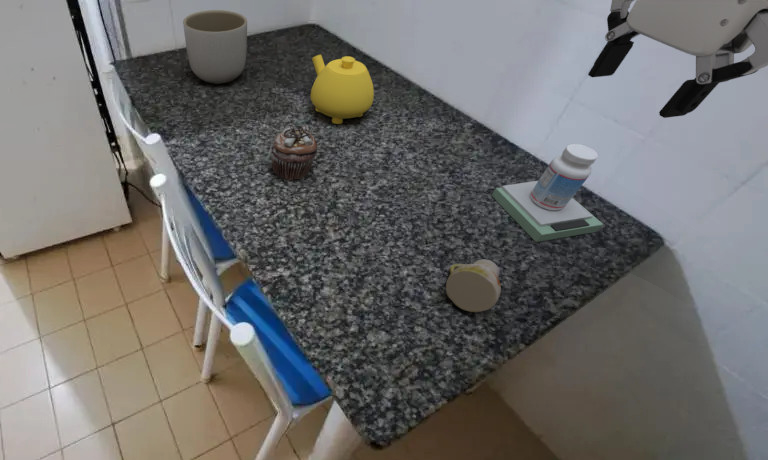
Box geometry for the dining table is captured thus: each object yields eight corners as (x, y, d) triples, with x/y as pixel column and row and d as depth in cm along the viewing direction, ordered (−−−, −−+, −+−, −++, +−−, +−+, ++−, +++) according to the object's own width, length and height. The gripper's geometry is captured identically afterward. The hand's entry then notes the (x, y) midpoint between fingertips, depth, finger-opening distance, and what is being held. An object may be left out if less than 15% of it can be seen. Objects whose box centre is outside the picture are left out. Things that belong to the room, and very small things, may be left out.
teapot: (287, 99, 106) (291, 47, 96) (332, 85, 111) (340, 35, 101) (334, 134, 94) (344, 78, 84) (382, 117, 100) (396, 63, 90)
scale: (596, 231, 72) (605, 222, 70) (535, 242, 70) (543, 232, 68) (546, 187, 81) (553, 177, 79) (491, 195, 79) (497, 185, 77)
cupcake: (303, 152, 88) (308, 112, 81) (320, 178, 82) (327, 137, 75) (263, 159, 87) (264, 118, 79) (277, 186, 80) (279, 145, 73)
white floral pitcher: (504, 282, 64) (534, 273, 55) (461, 322, 64) (484, 319, 54) (468, 250, 66) (490, 235, 57) (426, 288, 66) (442, 280, 57)
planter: (182, 87, 109) (175, 29, 98) (197, 62, 121) (191, 8, 110) (242, 92, 108) (241, 34, 97) (251, 66, 120) (251, 11, 109)
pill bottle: (571, 204, 73) (611, 155, 65) (551, 215, 71) (590, 166, 63) (541, 186, 77) (575, 137, 69) (521, 196, 75) (554, 147, 67)
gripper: (950, -80, 28) (735, 130, 40) (710, -109, 39) (600, 60, 52) (873, -77, 27) (676, 138, 39) (649, -108, 38) (551, 65, 51)
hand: (632, 94), depth 45 cm, fingers open, 9 cm apart
